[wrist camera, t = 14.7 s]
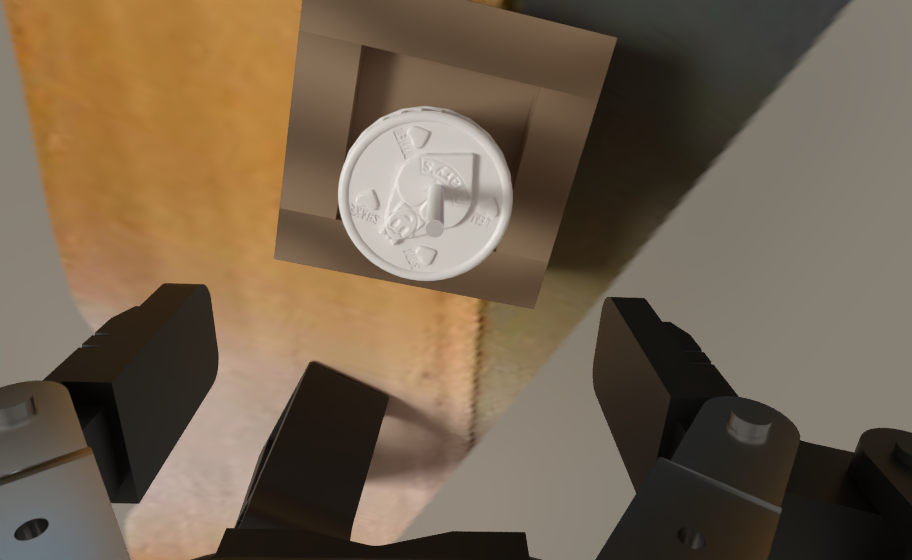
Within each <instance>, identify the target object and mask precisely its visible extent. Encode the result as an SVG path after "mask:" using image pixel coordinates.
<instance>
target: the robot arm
mask: <svg viewBox="0 0 912 560" xmlns="http://www.w3.org/2000/svg"><path fill="white" fill-rule="evenodd" d="M218 360H219V358H218V347H217V340H216V333H215V325H214V318H213V311H212V303H211V297H210V293H209V290H208V288H207V287H206V286H205V285H204V284H173V283H165V284H163V285H161V286H160V287H159V288H158V289H157V290H156V291H155V292H154V293H153V294H152V295H151V296H150V297H149V298H148V299H147V300H146V301H145V302H144V303H143V304H141V305H140V306H135V307H133V308H131V309H129V310H127V311H125V312H123V313H121V314H119V315H117V316H115V317H113V318H111V319H110V320H109V321H107V322H106V323H105V324H104V325H103V326H102V327H101V328H100V329H99V330H98V331H96V332H95V336H93V335H92V336H91V337H90V338H89V339H88V340H87V341H85V342H84V343H83V344H82V348H78V349H77V350H76V351H74V352H73V353H72V354H71V355H70V356H69V357H68V358H67V359H66V360H65V361H64V362H62V363H61V364H60V365H59V366H58V367H57V368H56V369H55V370H54V371H52V372H51V374H49V375H48V376H47V377H46V378H45V379H44V380H43V381H26V382H20V383H16V384H11V385H7V386H4V387H0V560H131V559H130V557H129V554H128V551H127V548H126V545H125V542H124V540H123V537H122V534H121V531H120V528H119V525H118V522H117V520H116V517H115V514H114V511H113V508H112V505H111V503H136V504H139V503H140V501H141V500H142V498H143V496H144V495H145V493H146V491H147V490H148V488H149V487H150V485H151V483H152V482H153V480H154V479H155V477H156V475H157V474H158V472H159V471H160V469H161V467H162V466H163V464H164V463H165V461H166V459H167V458H168V456H169V454H170V453H171V451H172V450H173V448H174V446H175V445H176V443H177V442H178V440H179V438H180V437H181V435H182V434H183V432H184V430H185V429H186V427H187V426H188V424H189V422H190V421H191V419H192V417H193V416H194V414H195V413H196V411H197V409H198V408H199V406H200V405H201V403H202V401H203V400H204V398H205V397H206V395H207V393H208V392H209V390H210V389H211V387H212V385H213V383H214V381H215V379H216V375H217V370H218ZM593 385H594V390H595V394H596V396H597V399H598V401H599V404H600V406H601V408H602V411H603V413H604V416H605V418H606V420H607V423H608V426H609V428H610V430H611V433H612V435H613V438H614V440H615V442H616V445H617V447H618V450H619V452H620V455H621V457H622V460H623V462H624V464H625V467H626V469H627V471H628V474H629V477H630V479H631V481H632V484H633V486H634V489H635V491H636V495H635V497H634V498H633V500H632V502H631V503H630V505H629V506H628V508H627V510H626V512H625V513H624V515H623V516H622V518H621V519H620V521H619V523H618V524H617V526H616V528H615V529H614V531H613V532H612V534H611V535H610V537H609V539H608V540H607V542H606V544H605V545H604V547H603V548H602V550H601V552H600V553H599V555H598V556H597V558H596V560H912V433H910V432H906V431H903V430H897V429H890V428H875V429H870V430H867V431H866V432H864V433H863V434H862V435H861V437H860V439H859V442H858V445H857V447H856V450H855V452H854V453H853V452H849V451H844V450H840V449H835V448H831V447H826V446H821V445H816V444H812V443H808V442H804V441H801V440H800V434H799V431H798V430H797V428H796V426H795V425H794V424H793V422H791V421H790V420H789V419H788V418H787V417H786V416H784V415H783V414H782V413H780V412H779V411H777V410H775V409H774V408H771V407H769V406H767V405H765V404H762V403H760V402H757V401H754V400H750V399H746V398H741V397H738V395H737V394H736V393H735V392H734V390H733V389H732V388H731V386H730V385H729V384H728V382H727V381H726V380H725V379H724V378H723V376H722V375H721V374H720V372H719V371H718V370H717V369H716V367H715V366H714V365H711V361H710V360H709V358H708V357H707V356H706V354H705V353H704V352H701V348H700V347H699V346H698V344H697V343H696V342H695V341H694V339H693V338H692V337H691V335H689V334H688V333H686V332H685V331H683V330H682V329H680V328H679V327H677V326H675V325H674V324H672V323H671V322H662V321H661V320H660V318H659V317H658V315H657V314H656V313H655V311H654V310H653V309H652V307H651V306H650V304H649V303H648V302H647V300H646V299H644V298H622V297H607V298H606V299H605V301H604V304H603V307H602V312H601V318H600V325H599V331H598V337H597V343H596V349H595V356H594V362H593ZM192 560H541V559H537V558H533V557H529V552H528V547H527V540H526V534H525V532H461V531H460V532H459V531H455V532H454V531H452V532H447V533H442V534H437V535H432V536H428V537H422V538H417V539H412V540H407V541H403V542H398V543H392V544H387V545H382V546H370V545H365V544H361V543H357V542H352V541H348V540H344V539H340V538H336V537H331V536H327V535H323V534H319V533H314V532H310V531H306V530H302V529H240V528H226V531H225V533H224V536H223V538H222V540H221V543H220V545H219V547H218V550H217V552H216V553H215V554H210V555H205V556H202V557H199V558H195V559H192Z"/></svg>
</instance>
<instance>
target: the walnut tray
mask: <svg viewBox="0 0 912 560" xmlns="http://www.w3.org/2000/svg"><path fill="white" fill-rule="evenodd" d="M616 41H617V38H616V37H612V36H608V35H604V34H600V33H596V32H592V31H588V30H584V29H580V28H576V27H572V26H568V25H564V24H560V23H556V22H552V21H548V20H544V19H540V18H536V17H532V16H528V15H524V14H520V13H516V12H512V11H508V10H504V9H500V8H496V7H492V6H488V5H484V4H480V3H476V2H472V1H468V0H302V9H301V18H300V27H299V36H298V45H297V54H296V63H295V73H294V82H293V91H292V100H291V109H290V118H289V127H288V136H287V145H286V155H285V164H284V173H283V182H282V191H281V200H280V209H279V218H278V228H277V237H276V246H275V255H274V259H277V260H282V261H287V262H292V263H297V264H303V265H308V266H313V267H318V268H323V269H328V270H334V271H339V272H344V273H349V274H354V275H359V276H365V277H370V278H375V279H380V280H385V281H390V282H396V283H401V284H406V285H411V286H416V287H421V288H427V289H432V290H437V291H442V292H447V293H453V294H458V295H463V296H468V297H473V298H478V299H484V300H489V301H494V302H499V303H504V304H509V305H515V306H520V307H525V308H530V309H534V307H535V304H536V301H537V297H538V294H539V291H540V288H541V284H542V281H543V278H544V275H545V271H546V268H547V265H548V262H549V258H550V255H551V252H552V249H553V245H554V242H555V239H556V236H557V232H558V229H559V226H560V223H561V219H562V216H563V213H564V210H565V206H566V203H567V200H568V197H569V193H570V190H571V187H572V184H573V181H574V177H575V174H576V171H577V168H578V164H579V161H580V158H581V155H582V151H583V148H584V145H585V142H586V138H587V135H588V132H589V129H590V125H591V122H592V119H593V116H594V112H595V109H596V106H597V103H598V99H599V96H600V93H601V90H602V86H603V83H604V80H605V77H606V73H607V70H608V67H609V64H610V60H611V57H612V54H613V51H614V47H615V44H616ZM420 106H431V107H437V108H444V109H450V110H452V111H454V112H457V113H459V114H461V115H463V116H466V117H468V118H470V119H472V120H473V121H474V122H476V123H477V124H478V125H479V126H480V127H482V128H483V129H484V130H485V131H487V132H488V133H489V134H490V135H491V137H492V138H493V140H494V141H495V142H496V144H497V145H498V147H499V148H500V149H501V151H502V152H503V155H504V157H505V160H506V163H507V166H508V168H509V171H510V174H511V182H512V190H513V204H512V212H511V217H510V220H509V223H508V226H507V229H506V231H505V233H504V235H503V237H502V239H501V241H500V242H499V244H498V245H497V246H496V248H495V249H494V250H493V251H492V253H491V254H490V255H489V256H488V257H487V258H486V259H484V260H483V261H482V262H481V263H479V264H478V265H477V266H475V267H474V268H472V269H470V270H468V271H467V272H464V273H462V274H460V275H457V276H454V277H451V278H447V279H443V280H435V281H418V280H411V279H407V278H402V277H399V276H396V275H394V274H391V273H389V272H387V271H385V270H383V269H381V268H380V267H378V266H377V265H375V264H374V263H372V262H371V261H370V260H369V259H367V258H366V257H365V256H364V255H363V254H362V253H361V252H360V251H359V249H358V248H357V247H356V246H355V244H354V243H353V241H352V240H351V238H350V237H349V235H348V233H347V231H346V229H345V227H344V224H343V221H342V218H341V214H340V210H339V203H338V186H339V179H340V174H341V171H342V168H343V165H344V163H345V160H346V157H347V155H348V152H349V150H350V149H351V147H352V146H353V144H354V143H355V142H356V140H357V139H358V137H359V136H360V135H361V133H362V132H363V131H364V130H366V129H367V128H368V127H369V126H371V125H372V124H373V123H374V122H376V121H377V120H378V119H379V118H381V117H383V116H386V115H388V114H391V113H393V112H395V111H398V110H400V109H404V108H412V107H420Z"/></svg>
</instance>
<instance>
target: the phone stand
mask: <svg viewBox="0 0 912 560" xmlns="http://www.w3.org/2000/svg"><path fill="white" fill-rule="evenodd" d="M388 399H389V397H387V396H385V395H383V394H381V393H378V392H376V391H374V390H372V389H369V388H367V387H365V386H363V385H360V384H358V383H356V382H354V381H351V380H349V379H347V378H345V377H342V376H340V375H338V374H336V373H333V372H331V371H329V370H327V369H325V368H322V367H320V366H318V365H316V364H313V363H311V362H310V363H309V364H308V366H307V368H306V370H305V372H304V374H303V376H302V377H301V379H300V381H299V383H298V385H297V387H296V388H295V390H294V392H293V394H292V396H291V398H290V400H289V401H288V403H287V405H286V407H285V409H284V411H283V412H282V414H281V416H280V418H279V420H278V422H277V424H276V425H275V427H274V429H273V431H272V433H271V435H270V436H269V438H268V440H267V442H266V444H265V446H264V447H263V449H262V451H261V453H260V456H259V458H258V461H257V464H256V467H255V470H254V473H253V476H252V479H251V482H250V485H249V488H248V491H247V494H246V496H245V499H244V502H243V505H242V508H241V511H240V514H239V517H238V520H237V522H236V525H235V527H234V528H240V529H302V530H306V531H310V532H314V533H319V534H323V535H327V536H331V537H336V538H340V539H344V540H348V541H350V537H351V531H352V526H353V522H354V518H355V515H356V511H357V508H358V504H359V501H360V497H361V494H362V490H363V487H364V483H365V480H366V476H367V473H368V469H369V466H370V462H371V459H372V455H373V452H374V448H375V445H376V441H377V438H378V434H379V431H380V427H381V424H382V420H383V417H384V413H385V410H386V406H387V403H388Z"/></svg>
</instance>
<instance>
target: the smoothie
mask: <svg viewBox="0 0 912 560" xmlns="http://www.w3.org/2000/svg"><path fill="white" fill-rule="evenodd" d="M338 203H339V210H340V214H341V218H342V221H343V224H344V227H345V229H346V231H347V233H348V235H349V237H350V238H351V240H352V241H353V243H354V244H355V246H356V247H357V248H358V249H359V251H360V252H361V253H362V254H363V255H364V256H365V257H366V258H367V259H369V260H370V261H371V262H372V263H374V264H375V265H377V266H378V267H380V268H381V269H383V270H385V271H387V272H389V273H391V274H394V275H396V276H399V277H402V278H407V279H411V280H418V281H435V280H443V279H447V278H451V277H454V276H457V275H460V274H462V273H464V272H467V271H468V270H470V269H472V268H474V267H475V266H477V265H478V264H479V263H481V262H482V261H483V260H484V259H486V258H487V257H488V256H489V255H490V254H491V253H492V251H493V250H494V249H495V248H496V246H497V245H498V244H499V242H500V241H501V239H502V237H503V235H504V233H505V231H506V229H507V226H508V223H509V220H510V217H511V212H512V204H513V190H512V182H511V174H510V171H509V168H508V166H507V163H506V160H505V157H504V155H503V152H502V151H501V149H500V148H499V147H498V145H497V144H496V142H495V141H494V140H493V138H492V137H491V135H490V134H489V133H488V132H487V131H485V130H484V129H483V128H482V127H480V126H479V125H478V124H477V123H476V122H474V121H473V120H472V119H470V118H468V117H466V116H463V115H461V114H459V113H457V112H454V111H452V110H450V109H444V108H437V107H431V106H420V107H412V108H404V109H400V110H398V111H395V112H393V113H391V114H388V115H386V116H383V117H381V118H379V119H378V120H377V121H376V122H374V123H373V124H372V125H371V126H369V127H368V128H367V129H366V130H364V131H363V132H362V133H361V135H360V136H359V137H358V139H357V140H356V142H355V143H354V144H353V146H352V147H351V149H350V150H349V152H348V155H347V157H346V160H345V163H344V165H343V168H342V171H341V174H340V179H339V186H338Z"/></svg>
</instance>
